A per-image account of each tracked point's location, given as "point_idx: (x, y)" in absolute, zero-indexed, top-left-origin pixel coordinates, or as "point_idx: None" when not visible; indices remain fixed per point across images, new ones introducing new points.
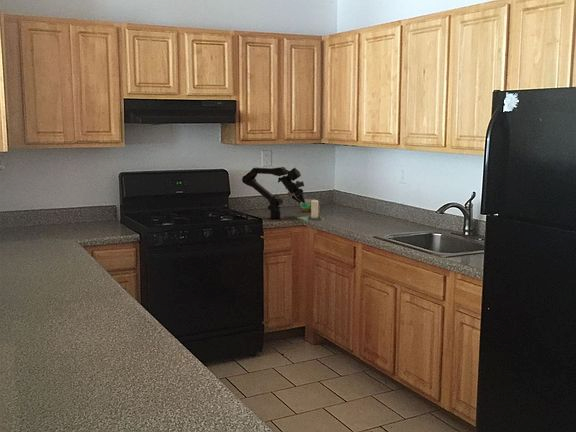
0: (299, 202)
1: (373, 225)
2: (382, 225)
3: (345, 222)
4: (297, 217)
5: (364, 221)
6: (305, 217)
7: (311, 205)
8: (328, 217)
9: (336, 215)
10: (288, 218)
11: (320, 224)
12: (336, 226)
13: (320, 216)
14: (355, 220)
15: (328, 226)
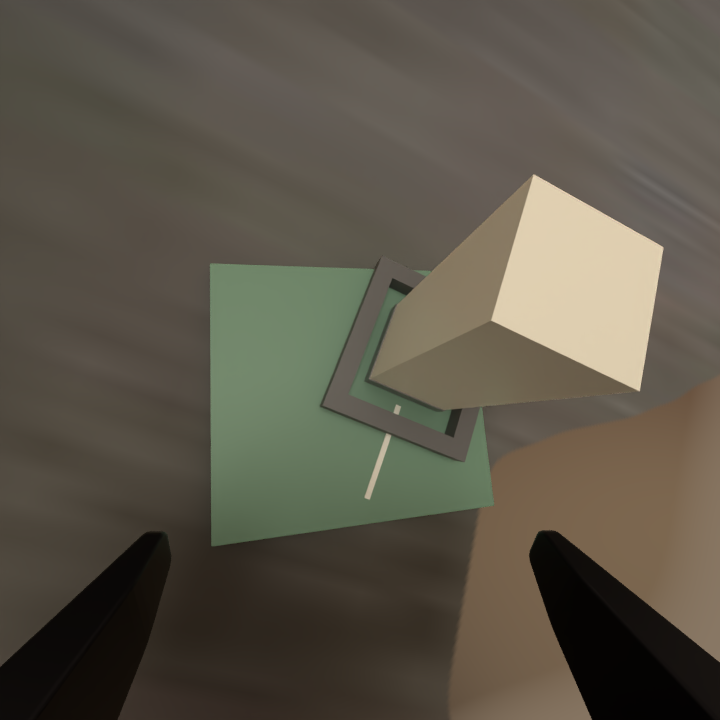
0: (161, 584)
1: (688, 65)
2: (691, 21)
3: (565, 159)
4: (239, 535)
5: (545, 15)
6: (274, 425)
7: (560, 396)
8: (271, 147)
9: (166, 6)
10: (172, 661)
11: (624, 397)
12: (709, 310)
13: (385, 270)
14: (493, 40)
15: (707, 369)
